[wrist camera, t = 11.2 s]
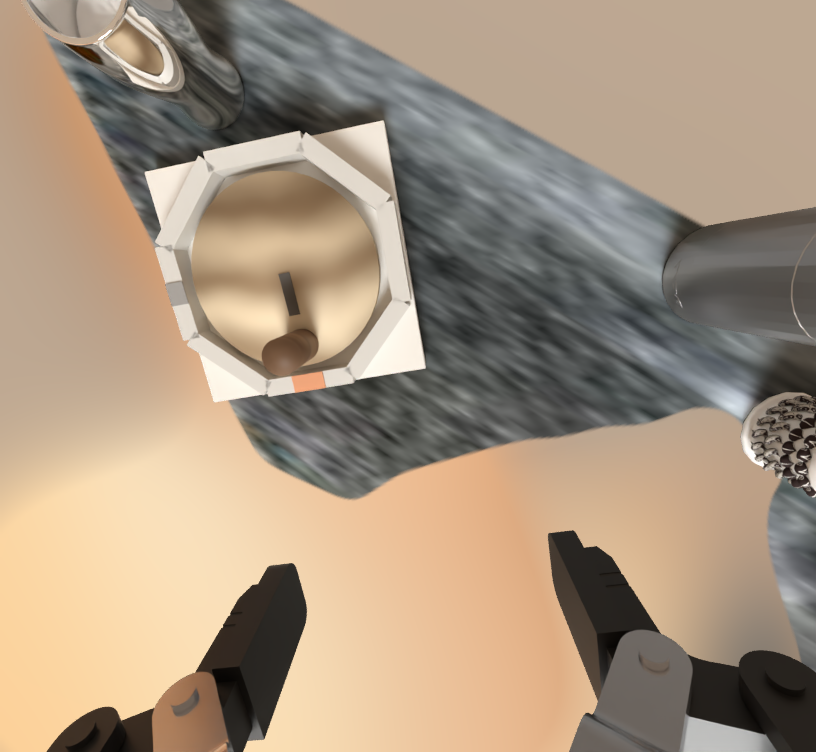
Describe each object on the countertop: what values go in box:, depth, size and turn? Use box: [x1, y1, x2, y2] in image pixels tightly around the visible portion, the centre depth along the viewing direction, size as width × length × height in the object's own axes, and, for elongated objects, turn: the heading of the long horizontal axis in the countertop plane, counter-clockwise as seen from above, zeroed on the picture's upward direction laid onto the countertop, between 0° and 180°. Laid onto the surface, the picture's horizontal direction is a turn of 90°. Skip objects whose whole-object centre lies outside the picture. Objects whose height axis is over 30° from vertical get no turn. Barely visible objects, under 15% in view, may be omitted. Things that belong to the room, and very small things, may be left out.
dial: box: [191, 171, 381, 376], centre depth 34 cm, size 17×17×8 cm
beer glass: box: [20, 0, 244, 130], centre depth 29 cm, size 7×7×15 cm
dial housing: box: [145, 120, 426, 402], centre depth 38 cm, size 22×22×4 cm
